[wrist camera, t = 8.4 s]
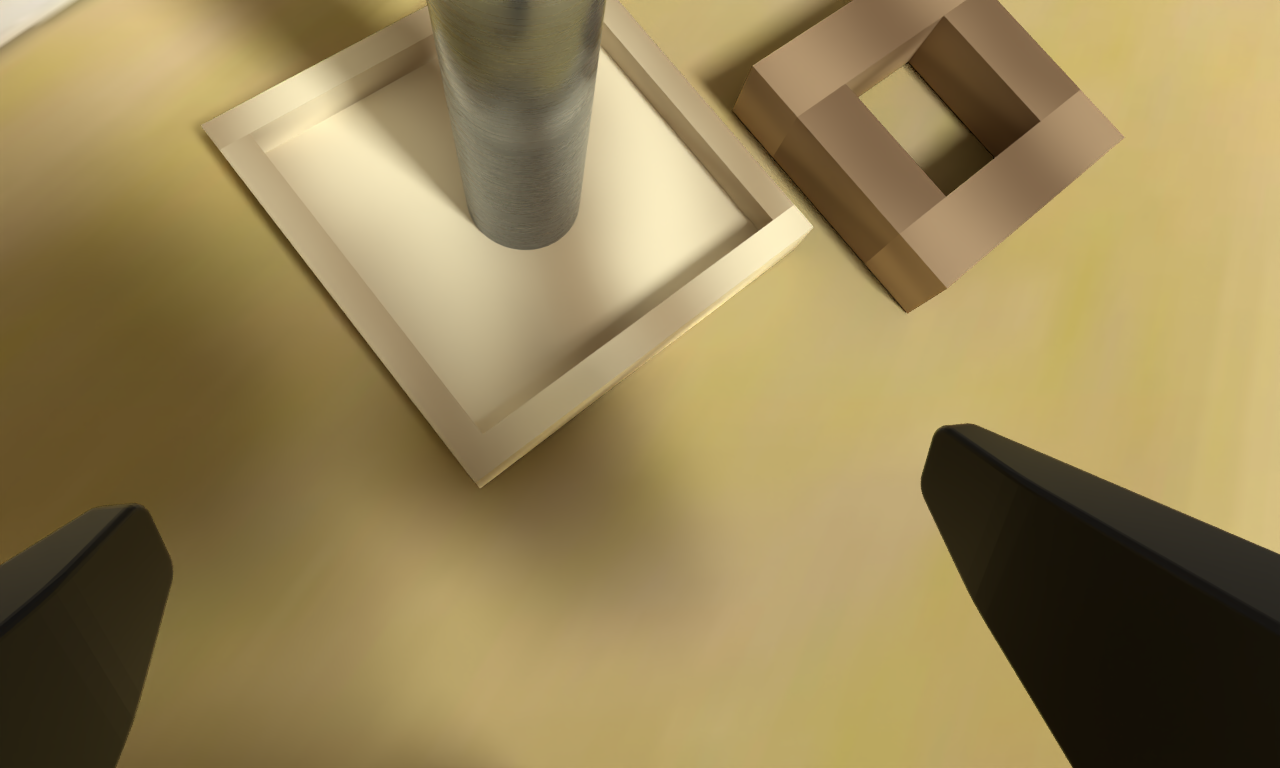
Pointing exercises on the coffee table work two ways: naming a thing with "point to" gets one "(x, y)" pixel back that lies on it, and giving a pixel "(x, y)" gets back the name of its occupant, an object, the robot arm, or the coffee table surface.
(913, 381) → the coffee table surface
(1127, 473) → the coffee table surface
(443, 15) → the pin
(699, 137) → the tray
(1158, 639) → the robot arm
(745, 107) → the block
